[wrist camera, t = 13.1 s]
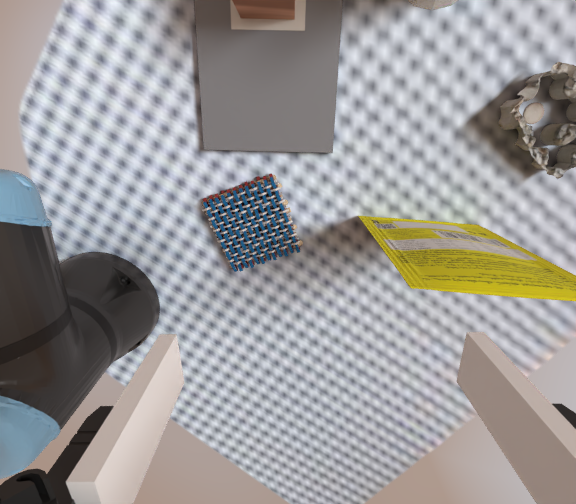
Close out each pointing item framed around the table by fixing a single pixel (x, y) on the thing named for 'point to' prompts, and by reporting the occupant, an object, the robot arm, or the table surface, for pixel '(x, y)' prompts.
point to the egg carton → (566, 85)
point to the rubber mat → (268, 77)
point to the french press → (432, 3)
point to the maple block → (265, 9)
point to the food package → (467, 260)
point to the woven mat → (252, 222)
